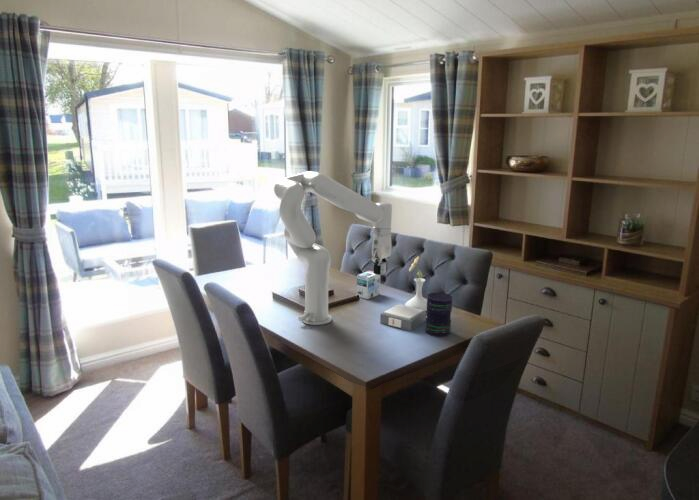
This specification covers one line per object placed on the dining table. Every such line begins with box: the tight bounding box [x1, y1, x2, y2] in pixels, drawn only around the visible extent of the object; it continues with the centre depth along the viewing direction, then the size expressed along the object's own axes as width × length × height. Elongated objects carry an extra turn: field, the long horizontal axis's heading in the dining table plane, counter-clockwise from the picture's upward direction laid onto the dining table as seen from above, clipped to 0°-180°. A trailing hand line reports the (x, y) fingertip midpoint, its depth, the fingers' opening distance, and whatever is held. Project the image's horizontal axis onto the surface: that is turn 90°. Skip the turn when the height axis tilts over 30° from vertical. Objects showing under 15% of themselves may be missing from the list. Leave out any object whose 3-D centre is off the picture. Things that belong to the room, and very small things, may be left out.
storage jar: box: [424, 292, 453, 338], centre depth 207 cm, size 10×10×15 cm
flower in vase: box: [404, 256, 427, 312], centre depth 231 cm, size 13×11×25 cm
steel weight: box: [376, 261, 387, 276], centre depth 229 cm, size 5×5×5 cm
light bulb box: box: [356, 270, 382, 300], centre depth 251 cm, size 11×7×11 cm, turn 143°
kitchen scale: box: [379, 304, 427, 332], centre depth 218 cm, size 15×14×5 cm
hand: (380, 272), depth 229 cm, fingers closed on steel weight, 5 cm apart
